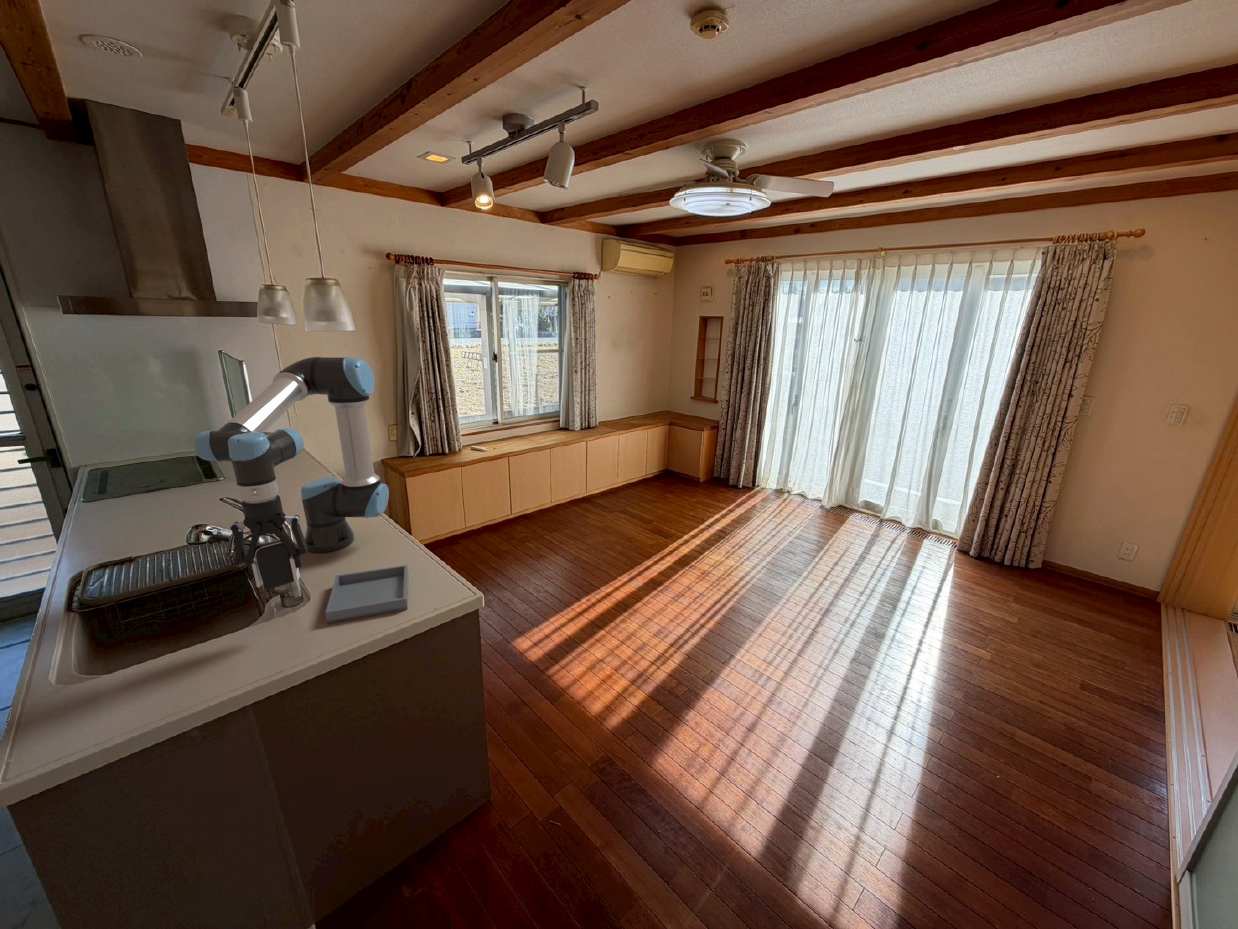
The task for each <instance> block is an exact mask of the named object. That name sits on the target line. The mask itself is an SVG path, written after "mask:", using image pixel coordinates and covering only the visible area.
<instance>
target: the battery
mask: <svg viewBox="0 0 1238 929" xmlns="http://www.w3.org/2000/svg"><path fill="white" fill-rule="evenodd" d="M254 554H255V557H254V559H256V563H257V567H258V570H259V573H260V576H261V580H262V587H263V590H264V591H267V590H271V589H275V588H278V587H282V586H285V585H287V584H291V583H293V582H294V577H293V573H292V568H291V563H290V557H291V554H290V552H289V551H288V550H287V548H286V547H285V546H284V544H283V543H282V542H281V541H280V539H279V540H274V541H270V542H265V543H262V544H258V545H257V547H256V549H255V552H254Z"/></svg>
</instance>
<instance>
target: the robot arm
mask: <svg viewBox="0 0 1238 929" xmlns="http://www.w3.org/2000/svg"><path fill="white" fill-rule="evenodd" d="M375 386H376V381H375V375H374V373H373V370H372V368H371V367H370V365H369V364H368V363H367V362H366V361H365V360H363V359H361V358H355V357H349V356H347V357H340V356H339V357H338V356H337V357H335V356H334V357H332V356H331V357H324V356H323V357H321V356H311V357H307V358H304V359H300V360H297V361H296V362H294V363H291V364H290V365H288V366H286V367H285V368H283V369H282V370H281V371H278V373H277V374H275V375H274V376H273V378H272V383H271V384H270V385H269V386H268V387H266V388H265V389H264V390H263V391H261V392H260V393H259V394H258V395H257V396H256V397H255V398H254V399H252V401H250V402H249V403H248V404H247V405H246V406H244V407H243V408H242V409H241V410H239V411H238V412H237V413H236V414H235V415H234V416H233V417H232V418H230V420H228V421H227V422H226V423H225V424H224V425H223V426H221V427H220V428H218V430H213V429H211V430H205V431H201V432H199V433H198V434H197V435H196V436H195V438H194V442H193V448H194V452H195V453H196V455H197V457H199V458H200V459H202V460H204V461H209V462H210V461H212V462H219V463H221V462H231V464H232V470H233V473H234V476H235V479H236V480H235V482H236V485H237V486H236V487H237V490H238V494H239V499H240V500H241V501H242V502H241V508H242V512H243V516H244V520H243V521H234V522H233V523H232V524H231V526H230V531H231V532H232V533H233V540H234V542H233V543H234V554H235V562H236V563H237V564H241V563H244V564H246V568H247V571H248V574H249V575H250V576H251V575H253V576H254V579H255V584H256V588H260V587H262V586H263V584H262V580H261V576H260V573H259V570H258V567H257V563H256V559H255V554H254V552H255V549H256V547H257V546H259V541H260V537H261V536H266V535H274V536H275V538H278V539H279V540H280V541H281V542H282V543H283V544H284V546H285V547H286V548H287V550H288V551H289V552H290V554H291V557H290V563H291V568H292V573H293V577H294V581H293V582H299V579H300V577H301V575H300V573H301V572H300V569H299V568H301V566H302V564H303V561H302V555H304V554H306V553H307V552H310V553H314V554H321V553H322V554H323V553H331V552H335V551H338V550H341V549H344V548H346V547H348V546H350V545H351V544H352V543H353V542H354V541H355V535H354V532H353V530H352V528H351V526H350V524H349V523H348V521H347V519H346V518H361V519H362V518H365V519H369V518H379V517H381V516H382V515H383V514H384V512H386V509H387V506H388V502H389V499H390V498H389V497H390V490H389V487H388V485H387V484H386V483H382V482H381V477H380V476H379V475H378V474H376V473H375V470H374V469H375V468H374V461H373V454H372V448H371V447H372V446H371V439H370V432H369V427H368V426H369V424H368V416H367V411H366V404H367V403H368V402H369V401H370V396H371V395H373V393H374V391H375ZM313 395H323V396H324V395H326V396H327V401H328V403H329V404H331V405H332V406H334V411H335V416H336V417H335V418H336V422H337V423H336V424H337V429H338V435H339V440H340V448H341V449H340V450H341V456H342V461H343V467H344V473H345V474H344V475H345V477H344V478H343V479H342V480H340V478H338V477H336V476H334V477H333V476H330V477H323V478H319V479H318V478H317V479H314V480H311V481H309V482H307V483H306V484H304V485H302V487H301V489H300V493H301V496H300V497H301V502H302V508H303V512H304V517H305V522H306V530H305V535H304V534H303V531H302V529H301V525H300V515H298V514H295V515H293V516H291V515H290V516H289V515H286V514H285V513H284V510H283V505H282V500H281V496H280V495H279V493H280V491H279V487H278V483H277V477H276V474H275V467H278V465H280V464H282V463H284V462H287V461H289V460H291V459H294V458H295V457H297V456H298V455H299V454H300V453H302V451H303V449H304V447H305V446H304V445H305V443H304V442H305V441H304V439H303V437H302V435H301V434H300V433H299V432H298V431H296V430H294V429H292V428H282V429H276V430H275V431H268V430H269V429H270V428H271V427H272V426H273V425H274V424H275V423H276V422H277V421H278V420H279V419H280V418H281V417H282V416H283V415H284V414H285V413H286V412H287V411H288V410H289V409H290V408H291V407H292V406H293V405H294V404H295V403H296V402H301V401H303V400H304V399H306V397H308V396H313ZM285 522H287V525H289V526H290V527H291V528H290V529H291V531H292V534H293V536H294V539H295V541H296V543H295V542H294V540H293V538H291V536H290V535H289V533H287V531H286V529H285V527H284V526H283V525H284V523H285ZM245 527H246V528H247V529H248V530H250V531H251V532H252V534H251V538H250V543H249V546H248V551H247V554H246V552H245V551H246V550H245V534H244V530H245Z"/></svg>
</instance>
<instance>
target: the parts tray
mask: <svg viewBox="0 0 1238 929" xmlns="http://www.w3.org/2000/svg"><path fill="white" fill-rule="evenodd" d="M408 568H409V567H408V564H403V565H397V566H396V565H395V566H391V567H383V568H377V569H371V570H364V571H363V570H362V571H358V572H351V573H344V574H338V575H337V574H336V575H335V578H334V581H333V585H332V588H331V591H330V596H329V598H328V602H327V607H326V610H325V617H326V618H325V619H326V623H327V625H330V624H335V623H341V622H345V621H346V622H348V621H350V620H357V619H363V618H367V617H372V616H380V615H384V614H385V615H386V614H389V613H395V612H401V611H407V610H408V606H409V603H408V602H409V570H408Z"/></svg>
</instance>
